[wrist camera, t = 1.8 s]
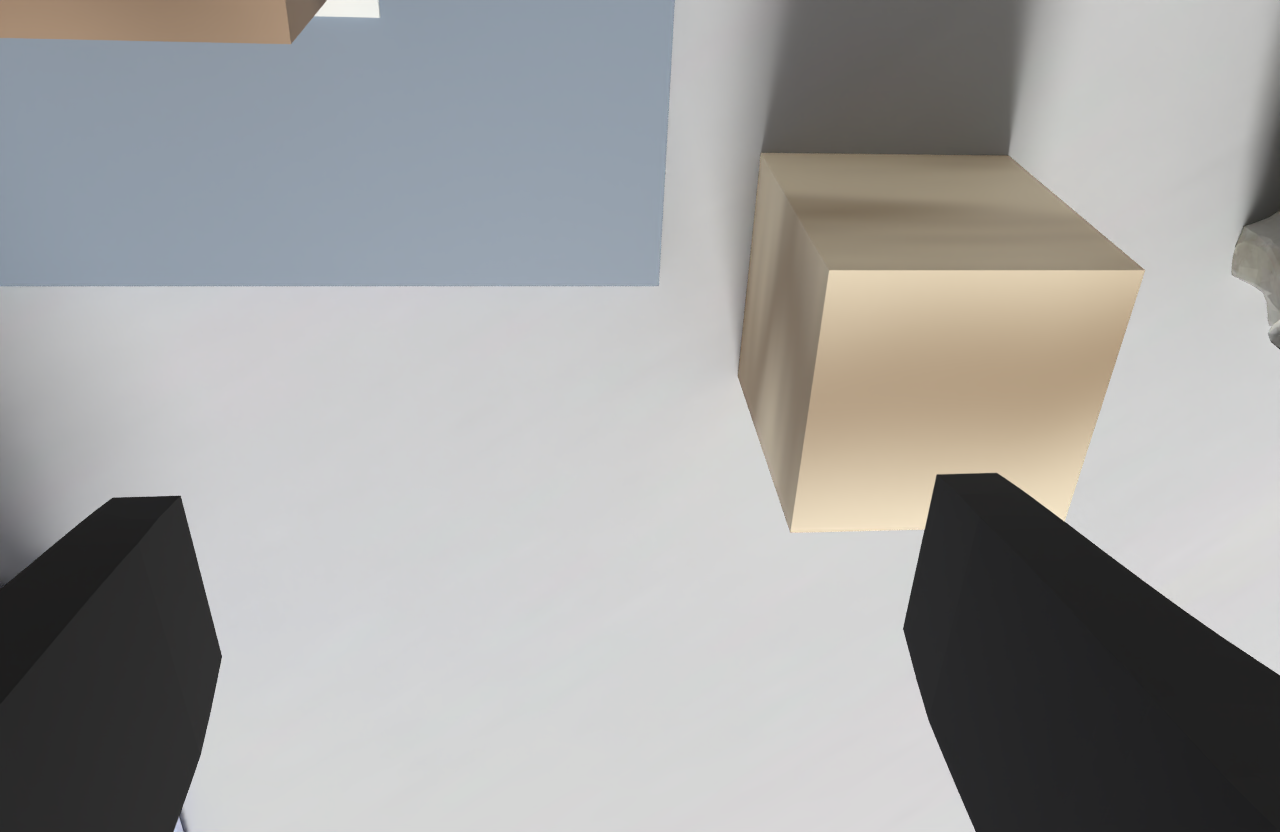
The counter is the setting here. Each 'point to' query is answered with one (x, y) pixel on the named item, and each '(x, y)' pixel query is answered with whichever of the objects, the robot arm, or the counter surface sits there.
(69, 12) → the walnut block
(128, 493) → the counter surface
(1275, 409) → the counter surface
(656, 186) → the board
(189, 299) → the counter surface
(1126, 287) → the oak block
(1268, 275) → the egg carton
